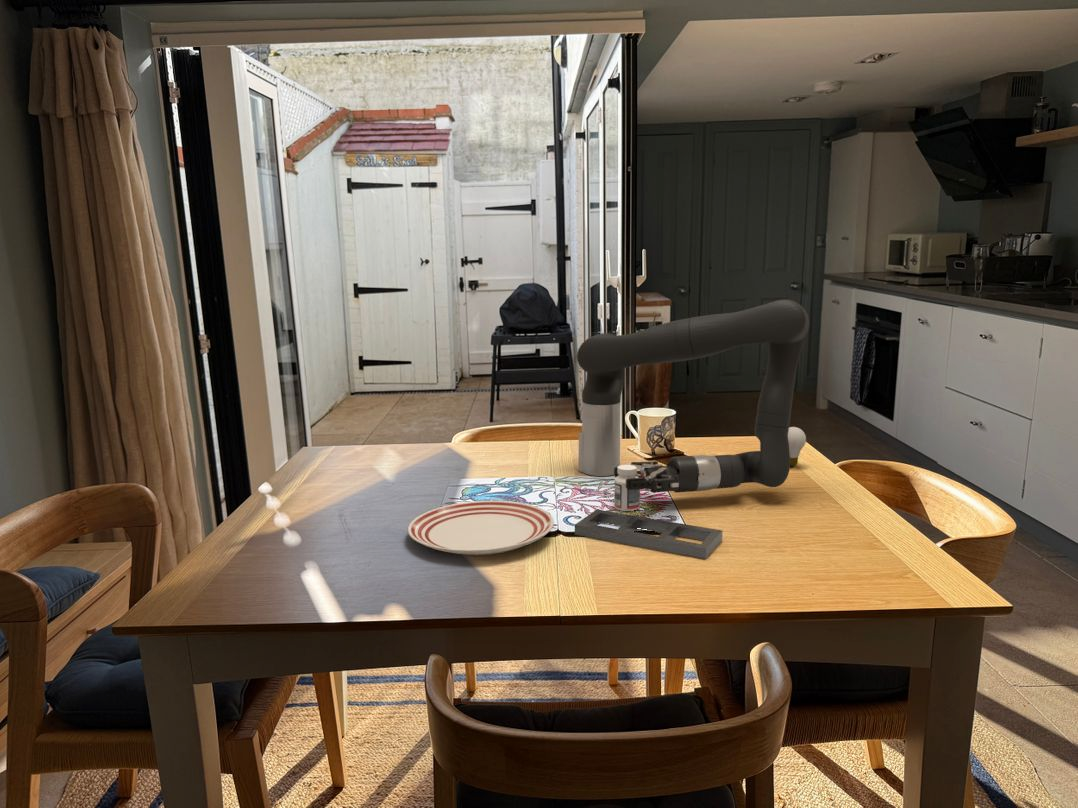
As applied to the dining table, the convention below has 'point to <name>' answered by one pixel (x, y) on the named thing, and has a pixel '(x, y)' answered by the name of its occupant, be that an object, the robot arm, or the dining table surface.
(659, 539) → the compartment tray
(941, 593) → the dining table surface
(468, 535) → the dinner plate
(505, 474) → the dining table surface
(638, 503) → the pill bottle
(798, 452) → the light bulb
